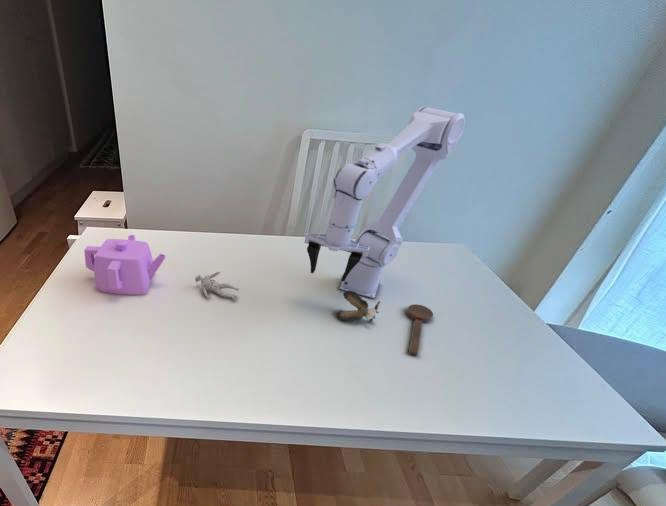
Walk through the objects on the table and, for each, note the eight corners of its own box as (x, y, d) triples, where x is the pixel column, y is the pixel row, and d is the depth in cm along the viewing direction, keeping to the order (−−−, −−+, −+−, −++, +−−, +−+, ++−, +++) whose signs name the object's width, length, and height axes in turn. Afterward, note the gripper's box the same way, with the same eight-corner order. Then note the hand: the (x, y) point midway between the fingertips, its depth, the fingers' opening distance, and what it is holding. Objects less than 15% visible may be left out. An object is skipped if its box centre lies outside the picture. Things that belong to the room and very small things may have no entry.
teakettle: (85, 279, 109) (76, 238, 100) (137, 261, 117) (133, 222, 109) (114, 307, 99) (107, 265, 91) (169, 285, 107) (167, 245, 99)
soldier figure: (228, 308, 101) (188, 287, 102) (227, 310, 106) (189, 290, 107) (242, 282, 101) (201, 261, 102) (241, 285, 106) (202, 265, 106)
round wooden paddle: (426, 359, 87) (428, 354, 86) (398, 350, 89) (400, 346, 88) (431, 312, 101) (433, 308, 100) (407, 306, 103) (409, 301, 102)
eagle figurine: (373, 306, 100) (340, 294, 101) (386, 296, 93) (350, 283, 94) (365, 332, 99) (331, 320, 99) (377, 324, 92) (341, 311, 92)
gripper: (305, 222, 86) (295, 275, 95) (372, 237, 81) (354, 291, 90) (314, 211, 91) (302, 262, 100) (377, 224, 86) (360, 277, 95)
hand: (328, 275), depth 95 cm, fingers open, 7 cm apart
